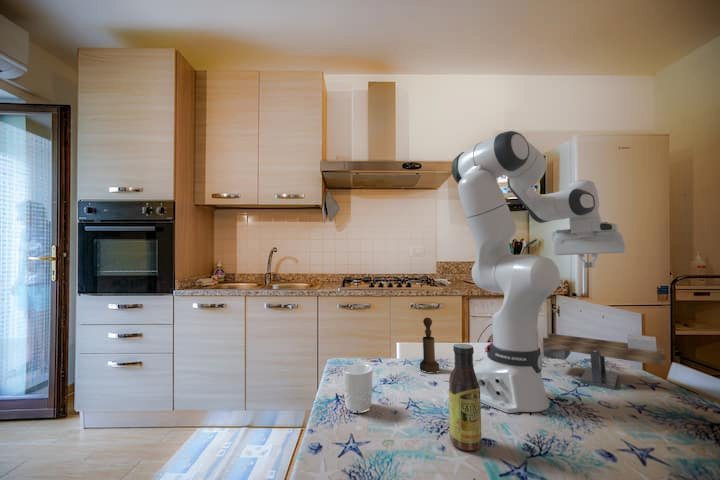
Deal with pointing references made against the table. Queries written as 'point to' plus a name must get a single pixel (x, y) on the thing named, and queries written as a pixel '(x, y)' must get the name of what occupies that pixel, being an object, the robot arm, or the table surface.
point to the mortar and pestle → (428, 350)
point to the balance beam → (598, 349)
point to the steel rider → (642, 343)
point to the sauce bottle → (464, 401)
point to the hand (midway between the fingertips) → (589, 267)
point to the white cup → (357, 386)
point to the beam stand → (599, 373)
